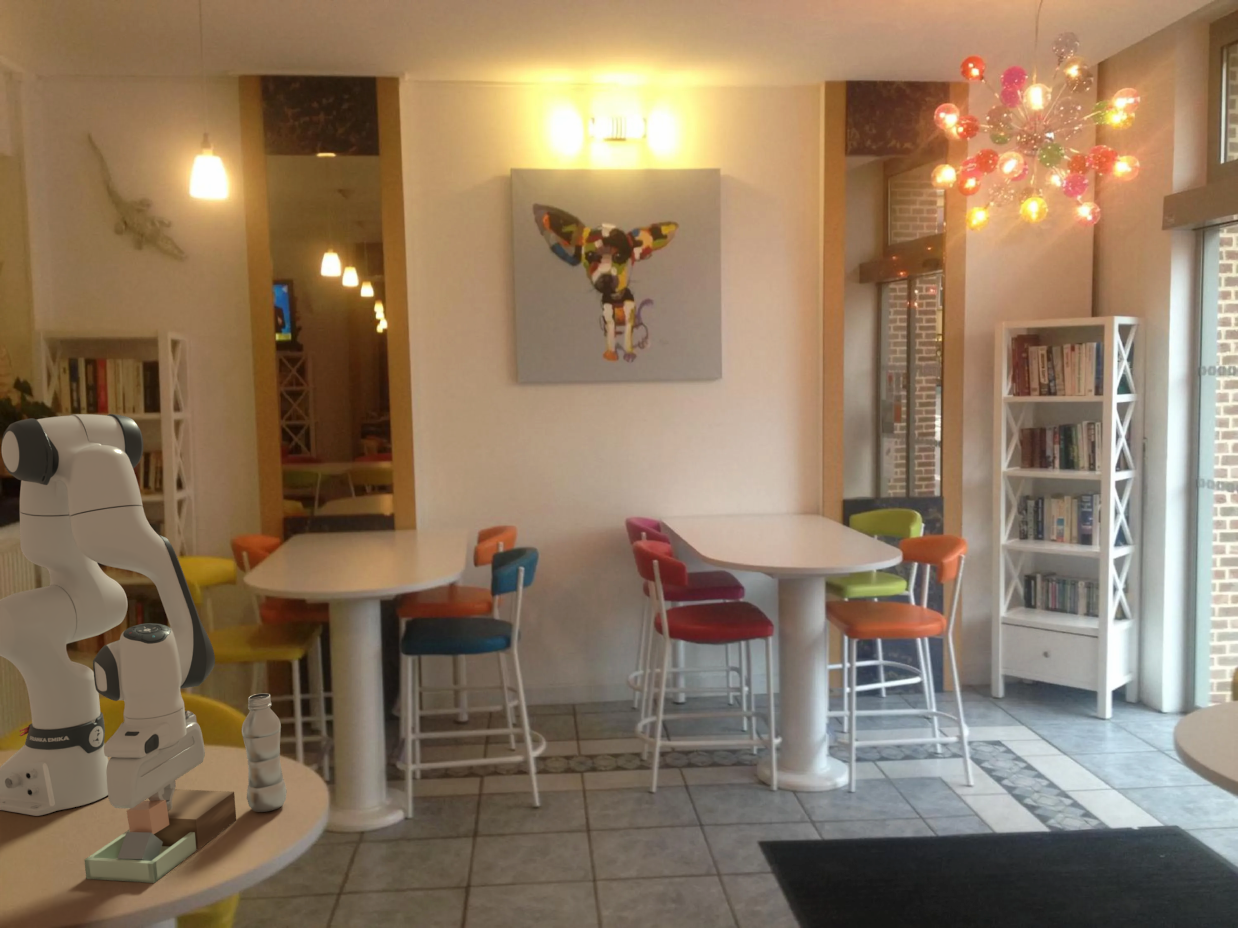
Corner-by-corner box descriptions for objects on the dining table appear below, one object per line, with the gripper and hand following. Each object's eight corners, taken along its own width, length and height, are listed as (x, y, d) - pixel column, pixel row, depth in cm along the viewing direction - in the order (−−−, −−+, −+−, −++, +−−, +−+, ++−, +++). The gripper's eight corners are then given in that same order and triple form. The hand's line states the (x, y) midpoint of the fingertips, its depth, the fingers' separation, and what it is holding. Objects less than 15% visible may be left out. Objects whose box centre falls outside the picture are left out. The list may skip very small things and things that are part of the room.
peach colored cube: (130, 835, 164) (126, 810, 164) (147, 825, 168) (143, 800, 168) (152, 834, 163) (148, 809, 163) (169, 824, 167) (165, 799, 167)
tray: (86, 878, 161) (84, 859, 161) (131, 846, 172) (130, 828, 172) (154, 882, 159) (152, 863, 159) (196, 850, 169) (194, 832, 169)
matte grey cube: (139, 841, 166) (130, 867, 164) (126, 831, 163) (117, 858, 161) (162, 841, 166) (154, 867, 163) (151, 832, 163) (142, 858, 160)
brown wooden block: (131, 845, 172) (129, 815, 172) (173, 816, 183) (170, 788, 182) (198, 849, 170) (196, 819, 169) (236, 819, 180) (234, 791, 180)
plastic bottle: (295, 802, 187) (287, 691, 185) (271, 818, 180) (262, 703, 179) (264, 799, 189) (256, 689, 187) (239, 814, 183) (230, 701, 181)
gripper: (176, 706, 179) (183, 785, 180) (95, 750, 159) (104, 839, 160) (210, 706, 178) (217, 787, 179) (133, 751, 158) (141, 840, 159)
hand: (163, 812), depth 169 cm, fingers closed
